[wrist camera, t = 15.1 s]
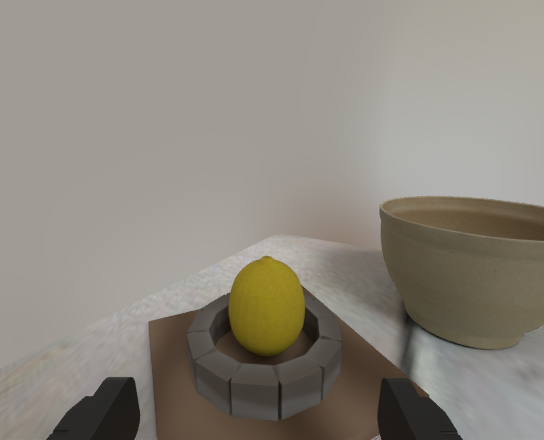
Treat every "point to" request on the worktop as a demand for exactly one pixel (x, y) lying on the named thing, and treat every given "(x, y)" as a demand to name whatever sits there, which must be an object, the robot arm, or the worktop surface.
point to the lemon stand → (265, 380)
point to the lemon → (266, 307)
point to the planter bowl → (467, 266)
